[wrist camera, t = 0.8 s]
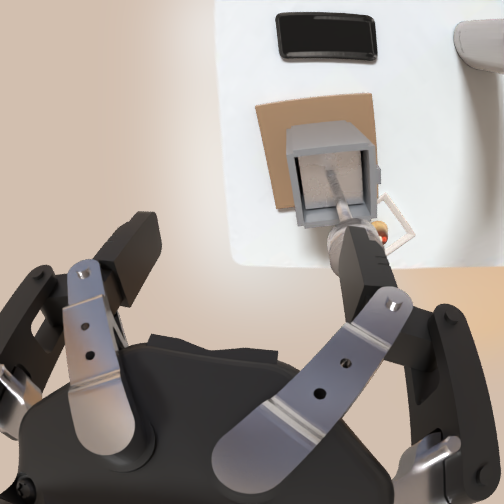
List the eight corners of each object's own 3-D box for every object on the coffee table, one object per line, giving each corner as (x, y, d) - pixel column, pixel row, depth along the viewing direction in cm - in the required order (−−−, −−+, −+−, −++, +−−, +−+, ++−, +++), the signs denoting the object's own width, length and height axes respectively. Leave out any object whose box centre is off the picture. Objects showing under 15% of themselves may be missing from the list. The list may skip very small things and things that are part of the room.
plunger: (358, 145, 32) (408, 210, 18) (362, 201, 36) (399, 289, 22) (297, 151, 33) (303, 221, 20) (305, 207, 37) (313, 299, 24)
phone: (377, 61, 33) (279, 58, 36) (375, 61, 34) (279, 58, 36) (374, 15, 29) (274, 12, 31) (372, 16, 30) (274, 13, 32)
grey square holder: (369, 92, 37) (405, 106, 25) (376, 194, 47) (403, 244, 35) (255, 105, 41) (241, 122, 29) (276, 205, 51) (271, 258, 39)
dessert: (414, 232, 51) (422, 246, 47) (367, 264, 57) (372, 279, 53) (384, 189, 47) (392, 201, 43) (333, 227, 53) (337, 241, 49)
